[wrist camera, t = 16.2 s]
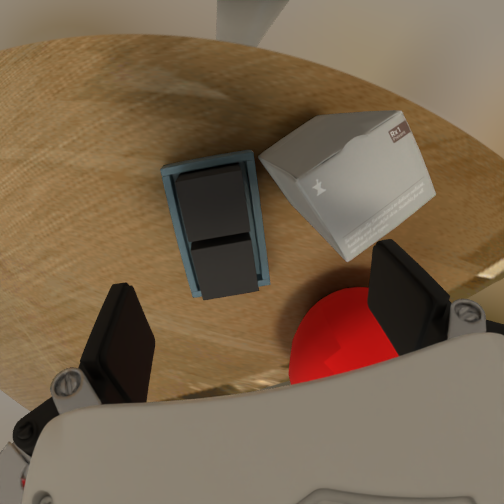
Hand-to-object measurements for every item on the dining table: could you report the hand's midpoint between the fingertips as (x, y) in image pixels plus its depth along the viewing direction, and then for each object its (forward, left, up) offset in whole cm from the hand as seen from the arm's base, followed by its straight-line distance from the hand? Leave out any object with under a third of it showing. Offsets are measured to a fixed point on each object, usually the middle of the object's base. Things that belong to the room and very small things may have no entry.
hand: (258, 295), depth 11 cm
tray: (+5, -2, -21) cm, 22 cm away
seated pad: (+9, -2, -21) cm, 23 cm away
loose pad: (+2, -2, -21) cm, 21 cm away
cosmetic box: (-1, +8, -22) cm, 23 cm away
